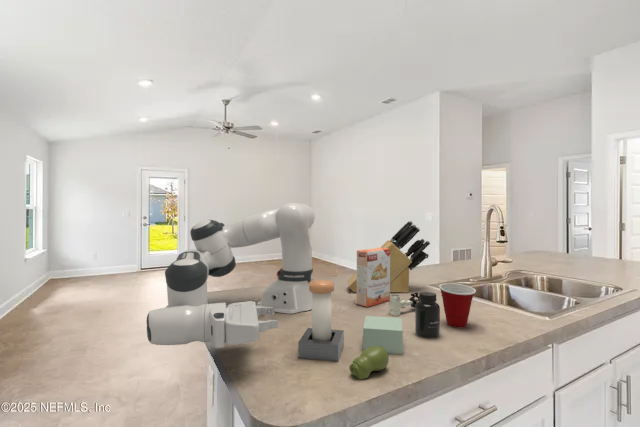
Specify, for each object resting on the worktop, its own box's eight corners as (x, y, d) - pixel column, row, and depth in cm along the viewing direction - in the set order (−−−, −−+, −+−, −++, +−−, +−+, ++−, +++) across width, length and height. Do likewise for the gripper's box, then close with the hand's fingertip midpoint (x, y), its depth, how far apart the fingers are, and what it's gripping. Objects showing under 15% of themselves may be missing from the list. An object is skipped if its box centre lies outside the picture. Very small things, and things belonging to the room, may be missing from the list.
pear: (392, 346, 78) (359, 366, 72) (394, 368, 78) (362, 389, 73) (375, 338, 82) (343, 356, 77) (377, 359, 83) (346, 378, 77)
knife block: (431, 293, 145) (431, 221, 145) (348, 293, 146) (348, 221, 146) (424, 287, 157) (424, 220, 156) (347, 287, 158) (347, 220, 157)
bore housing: (298, 358, 85) (298, 342, 85) (308, 342, 95) (307, 327, 94) (338, 361, 83) (338, 345, 83) (343, 344, 92) (343, 330, 92)
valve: (395, 318, 114) (423, 313, 119) (395, 298, 114) (423, 294, 119) (384, 312, 120) (411, 308, 125) (384, 294, 120) (411, 290, 125)
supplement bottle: (436, 340, 95) (436, 297, 95) (412, 335, 98) (412, 294, 98) (442, 332, 101) (442, 292, 100) (419, 328, 104) (418, 289, 104)
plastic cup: (457, 333, 100) (457, 292, 100) (431, 321, 110) (431, 285, 110) (484, 327, 104) (484, 288, 104) (457, 317, 114) (457, 281, 114)
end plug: (307, 355, 86) (306, 284, 86) (312, 345, 92) (312, 279, 92) (332, 357, 85) (331, 285, 84) (336, 347, 91) (335, 280, 91)
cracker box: (367, 308, 125) (367, 251, 125) (355, 304, 130) (355, 250, 130) (391, 300, 135) (390, 248, 134) (379, 297, 139) (378, 246, 139)
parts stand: (363, 351, 88) (363, 328, 88) (366, 336, 98) (365, 315, 98) (402, 354, 86) (402, 330, 86) (401, 339, 96) (401, 317, 96)
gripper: (221, 320, 93) (272, 316, 96) (216, 351, 73) (280, 345, 76) (220, 297, 93) (272, 294, 96) (215, 322, 73) (280, 317, 76)
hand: (276, 316), depth 86 cm, fingers open, 8 cm apart
